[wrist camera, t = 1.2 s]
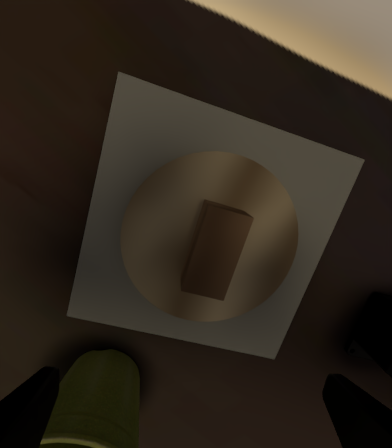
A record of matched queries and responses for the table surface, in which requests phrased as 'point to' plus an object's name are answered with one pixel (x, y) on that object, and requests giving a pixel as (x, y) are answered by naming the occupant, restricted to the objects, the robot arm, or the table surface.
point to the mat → (177, 147)
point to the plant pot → (96, 404)
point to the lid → (209, 236)
